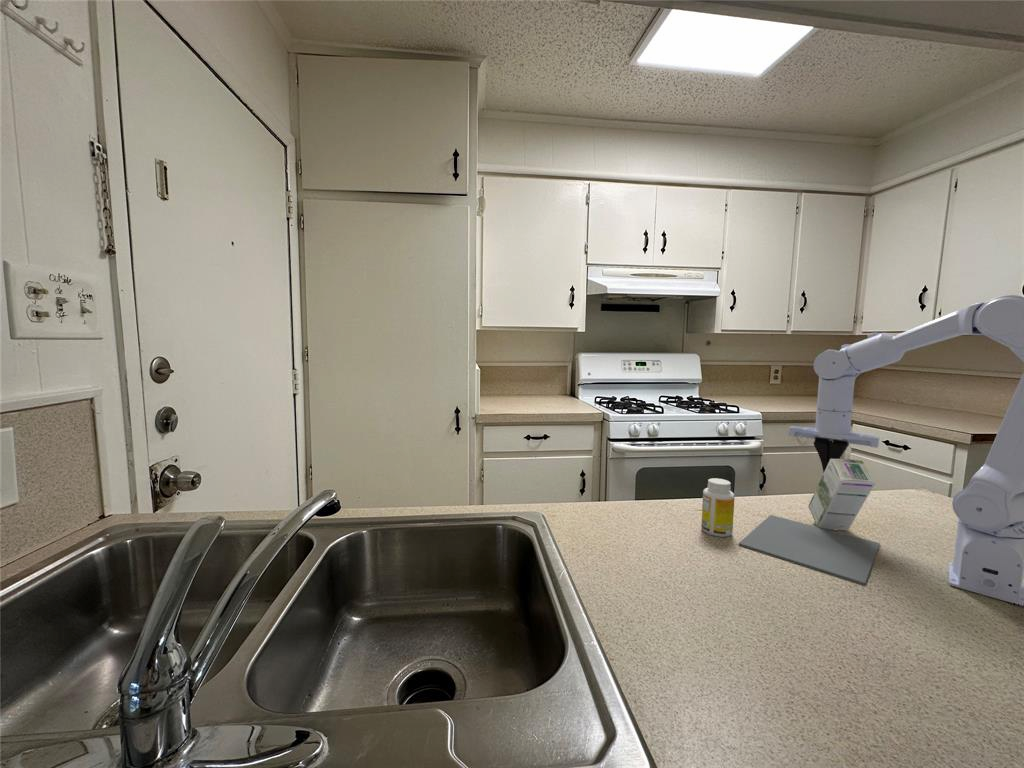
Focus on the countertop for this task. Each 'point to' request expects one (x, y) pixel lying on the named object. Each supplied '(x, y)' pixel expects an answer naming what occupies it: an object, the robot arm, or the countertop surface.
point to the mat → (814, 548)
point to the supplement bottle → (718, 508)
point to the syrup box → (840, 494)
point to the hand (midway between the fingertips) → (828, 475)
